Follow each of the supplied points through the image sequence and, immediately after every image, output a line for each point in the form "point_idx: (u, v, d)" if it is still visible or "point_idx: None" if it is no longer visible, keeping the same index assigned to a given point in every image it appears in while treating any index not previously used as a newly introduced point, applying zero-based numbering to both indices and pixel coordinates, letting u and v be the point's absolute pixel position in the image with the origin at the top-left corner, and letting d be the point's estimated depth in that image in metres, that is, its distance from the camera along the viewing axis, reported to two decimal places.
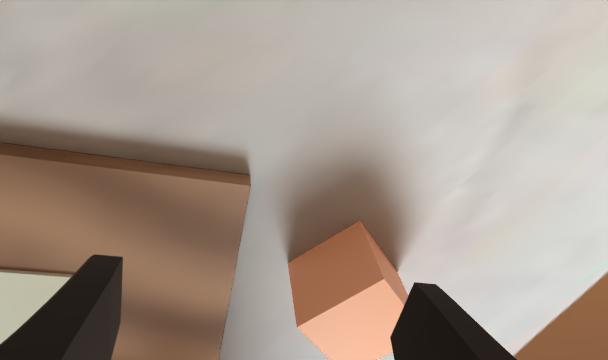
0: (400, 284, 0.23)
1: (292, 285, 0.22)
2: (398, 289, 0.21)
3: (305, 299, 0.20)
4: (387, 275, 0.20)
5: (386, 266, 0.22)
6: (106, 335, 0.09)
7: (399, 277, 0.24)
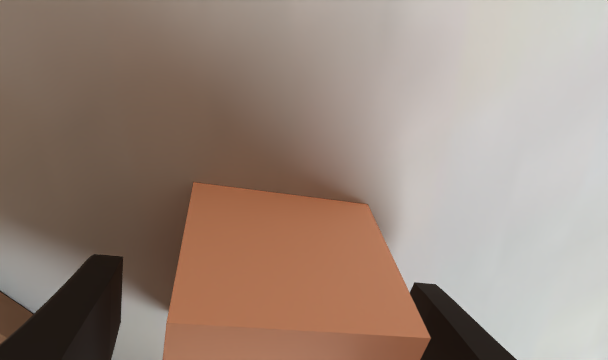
0: (352, 239, 0.10)
1: None
2: (306, 276, 0.08)
3: None
4: (237, 277, 0.08)
5: (276, 236, 0.09)
6: (106, 335, 0.09)
7: (369, 213, 0.11)
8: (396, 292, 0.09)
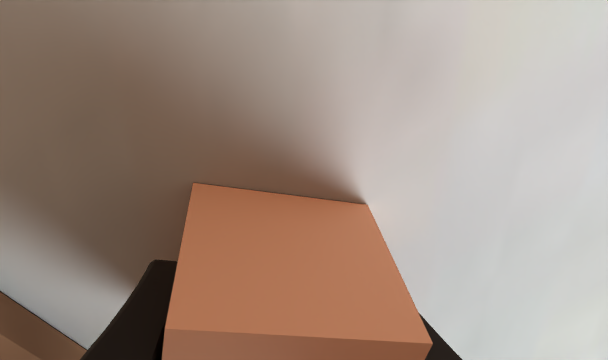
0: (352, 242, 0.10)
1: None
2: (307, 280, 0.08)
3: None
4: (236, 281, 0.08)
5: (276, 239, 0.09)
6: None
7: (370, 216, 0.11)
8: (397, 296, 0.08)
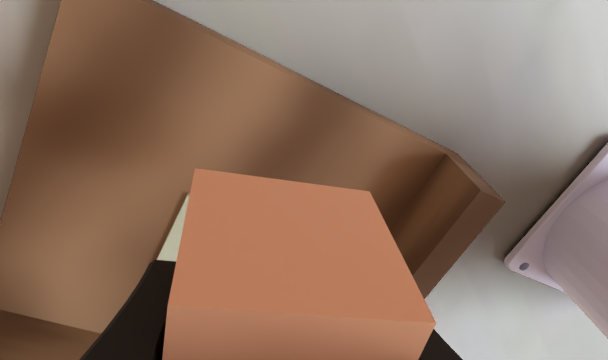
0: (355, 226, 0.10)
1: None
2: (309, 262, 0.08)
3: None
4: (239, 262, 0.08)
5: (278, 222, 0.09)
6: None
7: (372, 202, 0.11)
8: (400, 278, 0.08)
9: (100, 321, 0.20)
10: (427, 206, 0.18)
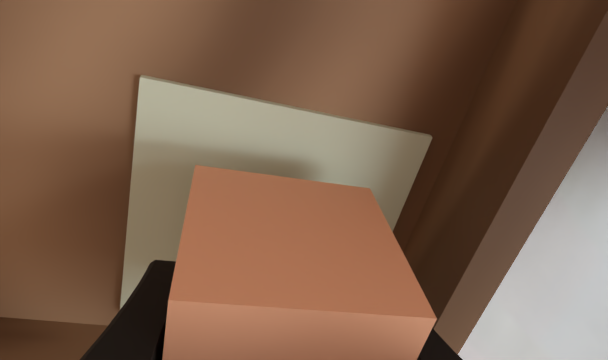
0: (355, 222, 0.10)
1: None
2: (310, 258, 0.08)
3: None
4: (239, 257, 0.08)
5: (278, 219, 0.09)
6: None
7: (373, 198, 0.11)
8: (401, 274, 0.08)
9: (85, 307, 0.14)
10: (544, 5, 0.10)
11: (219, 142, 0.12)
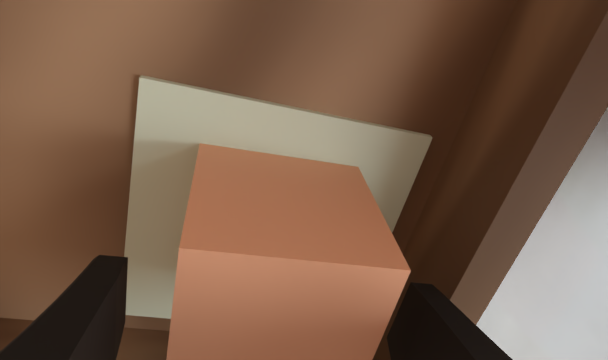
0: (343, 194, 0.11)
1: None
2: (301, 220, 0.09)
3: None
4: (239, 218, 0.09)
5: (274, 189, 0.10)
6: (111, 335, 0.09)
7: (360, 175, 0.12)
8: (381, 235, 0.10)
9: None
10: (544, 5, 0.10)
11: (219, 142, 0.12)
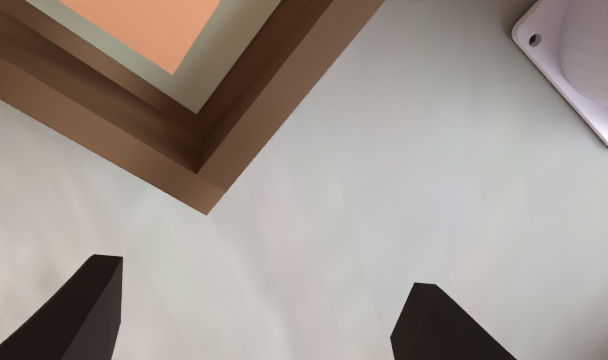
0: None
1: None
2: None
3: None
4: None
5: None
6: (106, 335, 0.09)
7: None
8: None
9: None
10: None
11: None
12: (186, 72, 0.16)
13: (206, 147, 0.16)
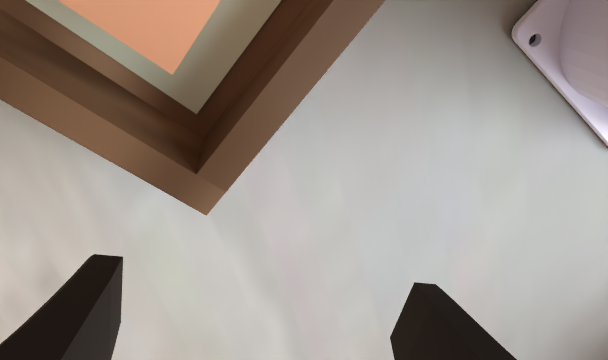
0: None
1: None
2: None
3: None
4: None
5: None
6: (106, 335, 0.09)
7: None
8: None
9: None
10: None
11: None
12: (186, 72, 0.16)
13: (206, 147, 0.16)
